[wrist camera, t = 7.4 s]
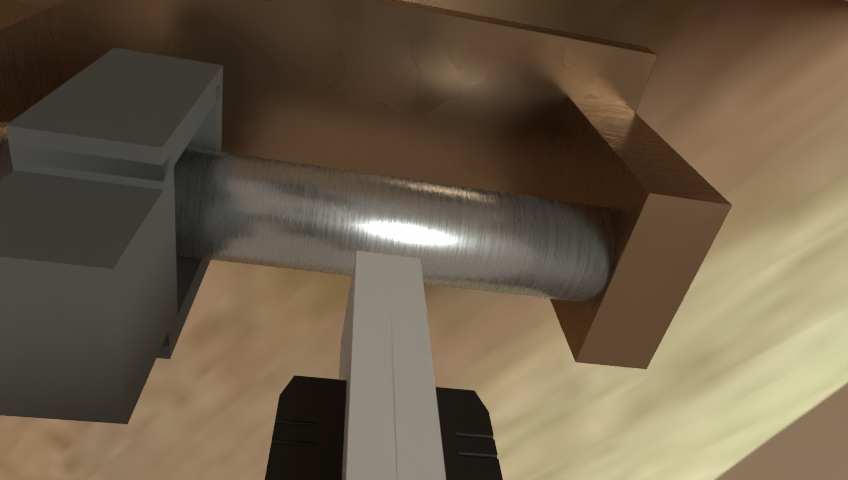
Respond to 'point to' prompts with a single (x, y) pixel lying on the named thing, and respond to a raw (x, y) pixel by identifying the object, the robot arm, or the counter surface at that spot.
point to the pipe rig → (411, 150)
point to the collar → (99, 234)
